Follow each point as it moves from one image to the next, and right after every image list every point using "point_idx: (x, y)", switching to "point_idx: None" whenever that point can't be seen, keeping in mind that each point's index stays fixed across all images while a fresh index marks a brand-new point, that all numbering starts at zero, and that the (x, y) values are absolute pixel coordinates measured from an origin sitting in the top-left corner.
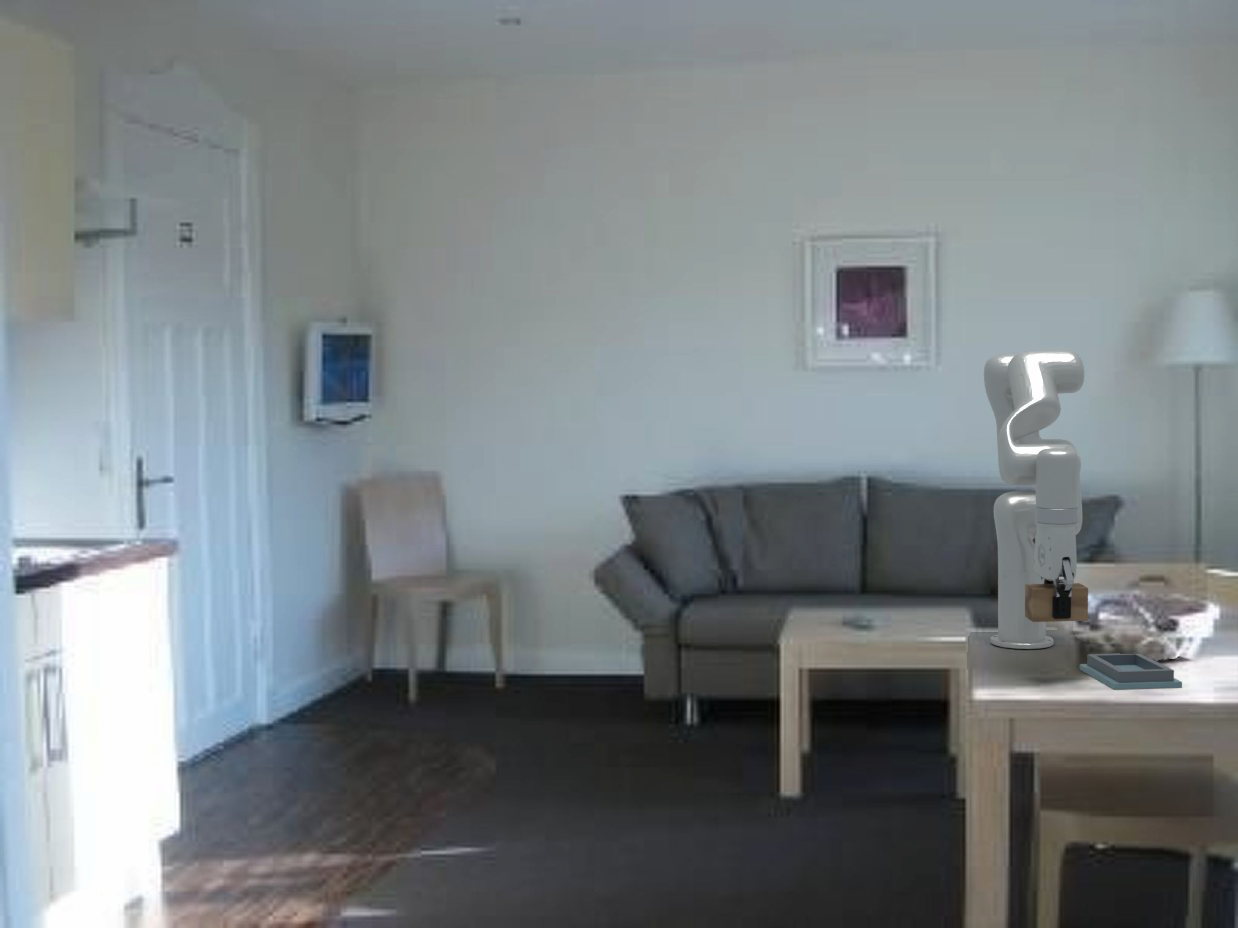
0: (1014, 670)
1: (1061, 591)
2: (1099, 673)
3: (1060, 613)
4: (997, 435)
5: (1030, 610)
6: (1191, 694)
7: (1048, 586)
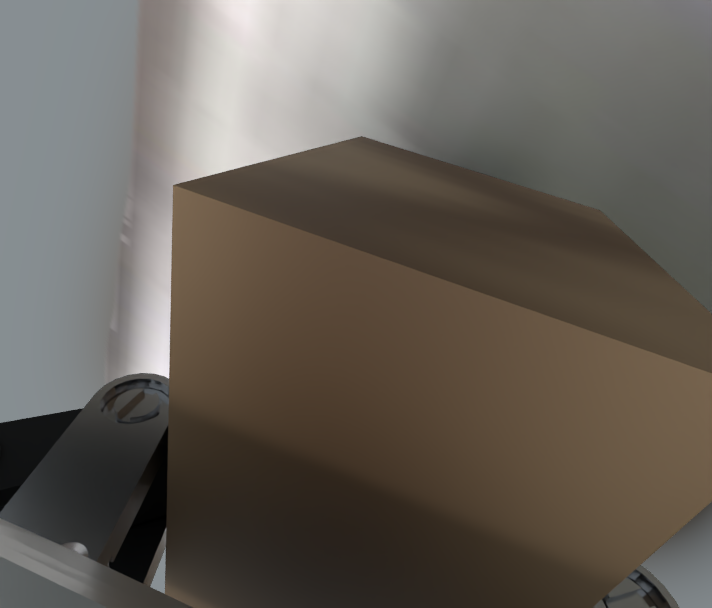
0: (693, 199)
1: (18, 426)
2: None
3: None
4: None
5: (419, 170)
6: None
7: (345, 537)
